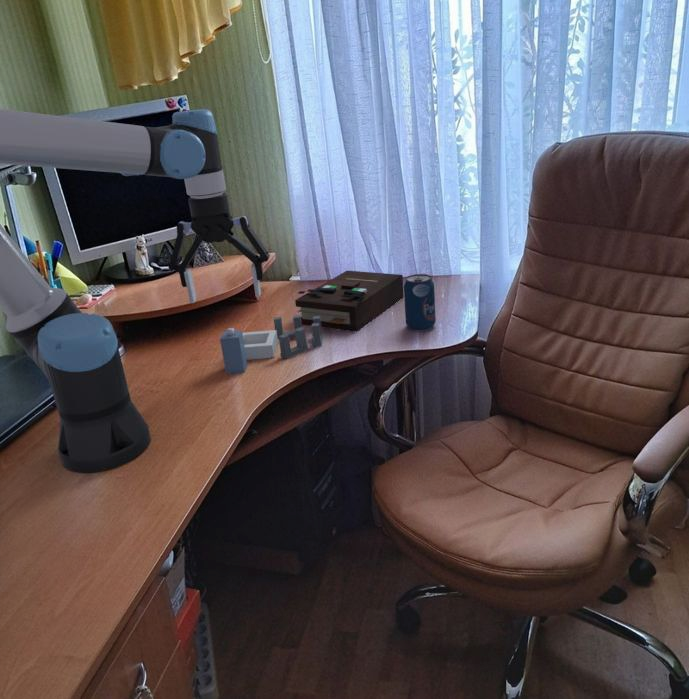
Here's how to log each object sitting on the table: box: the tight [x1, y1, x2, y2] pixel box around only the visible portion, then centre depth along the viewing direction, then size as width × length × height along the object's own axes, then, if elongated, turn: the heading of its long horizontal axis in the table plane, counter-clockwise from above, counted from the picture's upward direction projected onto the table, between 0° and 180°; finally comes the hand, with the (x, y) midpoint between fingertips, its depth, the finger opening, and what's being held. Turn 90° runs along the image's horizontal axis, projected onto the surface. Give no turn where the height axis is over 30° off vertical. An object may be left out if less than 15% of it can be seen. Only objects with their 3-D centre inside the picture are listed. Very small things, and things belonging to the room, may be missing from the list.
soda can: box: [403, 273, 437, 332], centre depth 153 cm, size 7×7×12 cm
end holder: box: [242, 329, 279, 361], centre depth 150 cm, size 9×9×3 cm
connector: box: [219, 327, 248, 375], centre depth 141 cm, size 4×4×9 cm
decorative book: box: [294, 270, 404, 333], centre depth 168 cm, size 19×8×30 cm
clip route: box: [273, 314, 324, 360], centre depth 150 cm, size 11×14×5 cm
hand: (225, 298), depth 136 cm, fingers open, 13 cm apart
